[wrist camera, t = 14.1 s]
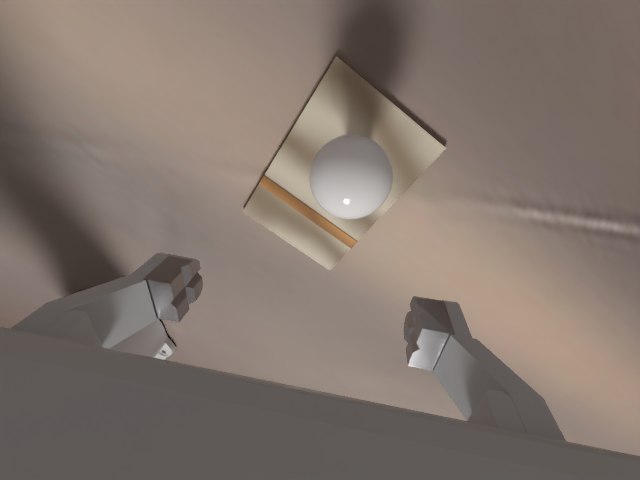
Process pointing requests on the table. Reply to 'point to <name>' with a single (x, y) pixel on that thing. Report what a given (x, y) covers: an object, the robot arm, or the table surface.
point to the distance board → (306, 140)
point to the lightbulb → (351, 176)
